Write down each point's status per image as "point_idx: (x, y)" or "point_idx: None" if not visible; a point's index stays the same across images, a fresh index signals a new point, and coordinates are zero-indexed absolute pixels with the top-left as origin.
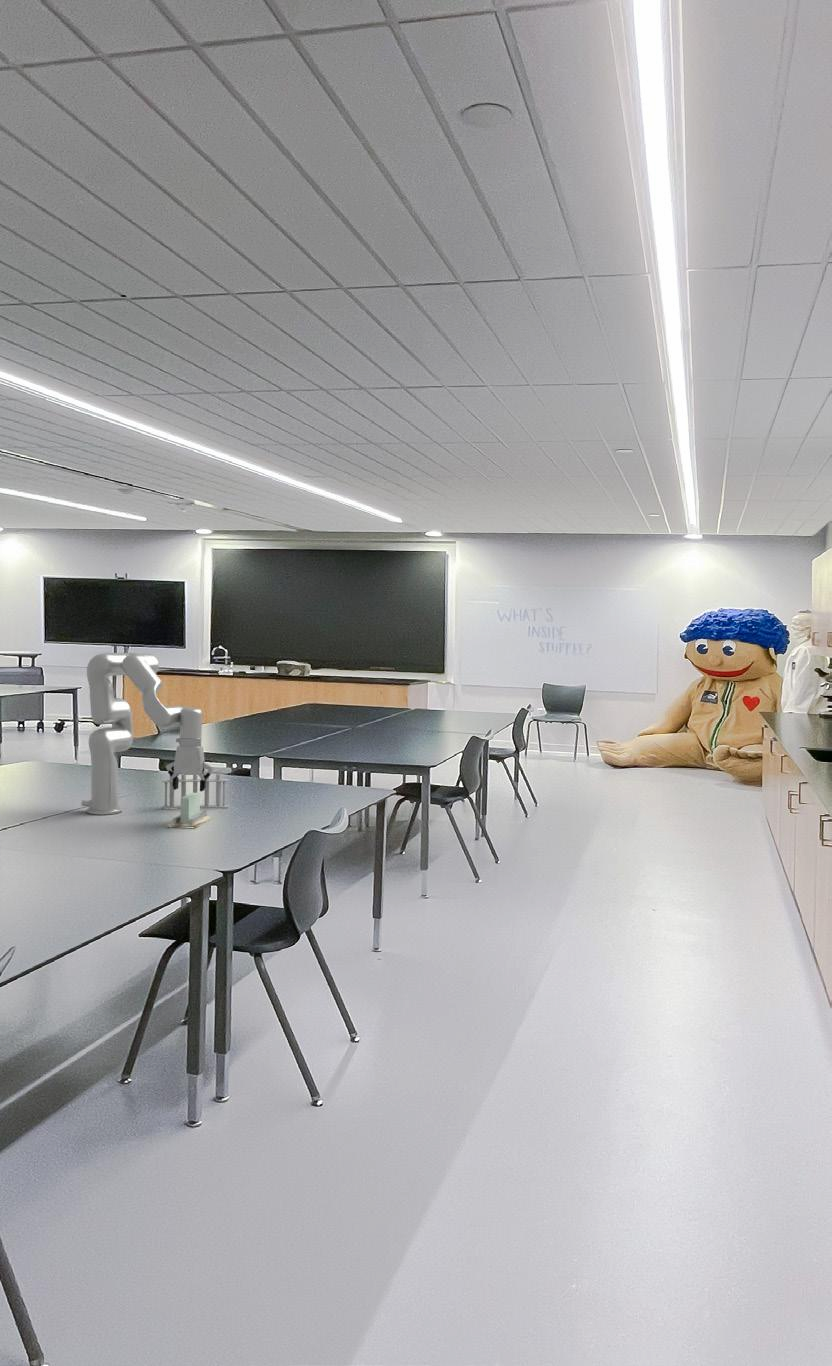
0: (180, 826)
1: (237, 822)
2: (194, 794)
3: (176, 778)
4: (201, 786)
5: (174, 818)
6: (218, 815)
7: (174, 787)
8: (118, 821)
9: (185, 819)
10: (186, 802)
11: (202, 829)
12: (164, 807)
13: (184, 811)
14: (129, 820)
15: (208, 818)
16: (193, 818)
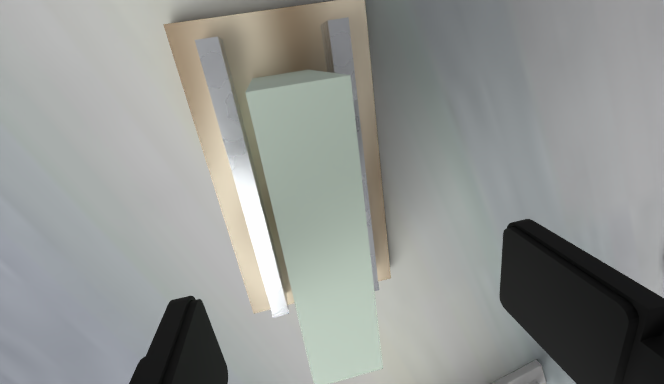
0: (275, 9)
1: (63, 297)
2: (321, 316)
3: (629, 357)
4: (151, 349)
5: (340, 26)
6: (272, 376)
7: (533, 231)
8: (651, 72)
9: (275, 75)
10: (274, 84)
11: (106, 19)
12: (532, 370)
13: (287, 76)
14: (607, 116)
15: (240, 270)
16: (209, 80)
